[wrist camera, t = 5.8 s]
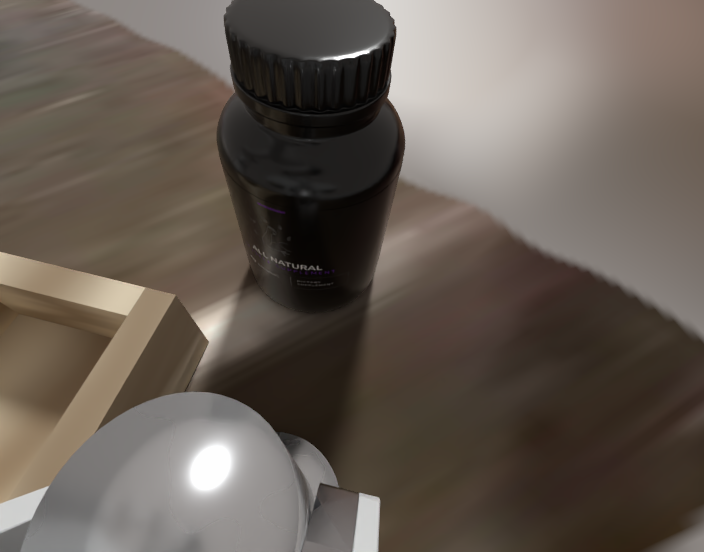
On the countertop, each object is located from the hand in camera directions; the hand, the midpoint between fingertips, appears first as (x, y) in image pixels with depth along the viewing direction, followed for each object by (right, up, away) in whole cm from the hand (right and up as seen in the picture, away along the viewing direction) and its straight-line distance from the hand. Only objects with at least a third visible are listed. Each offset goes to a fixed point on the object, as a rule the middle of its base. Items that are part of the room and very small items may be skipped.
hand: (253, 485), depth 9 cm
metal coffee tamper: (-1, -4, +5) cm, 6 cm away
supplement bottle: (0, +6, +11) cm, 13 cm away
